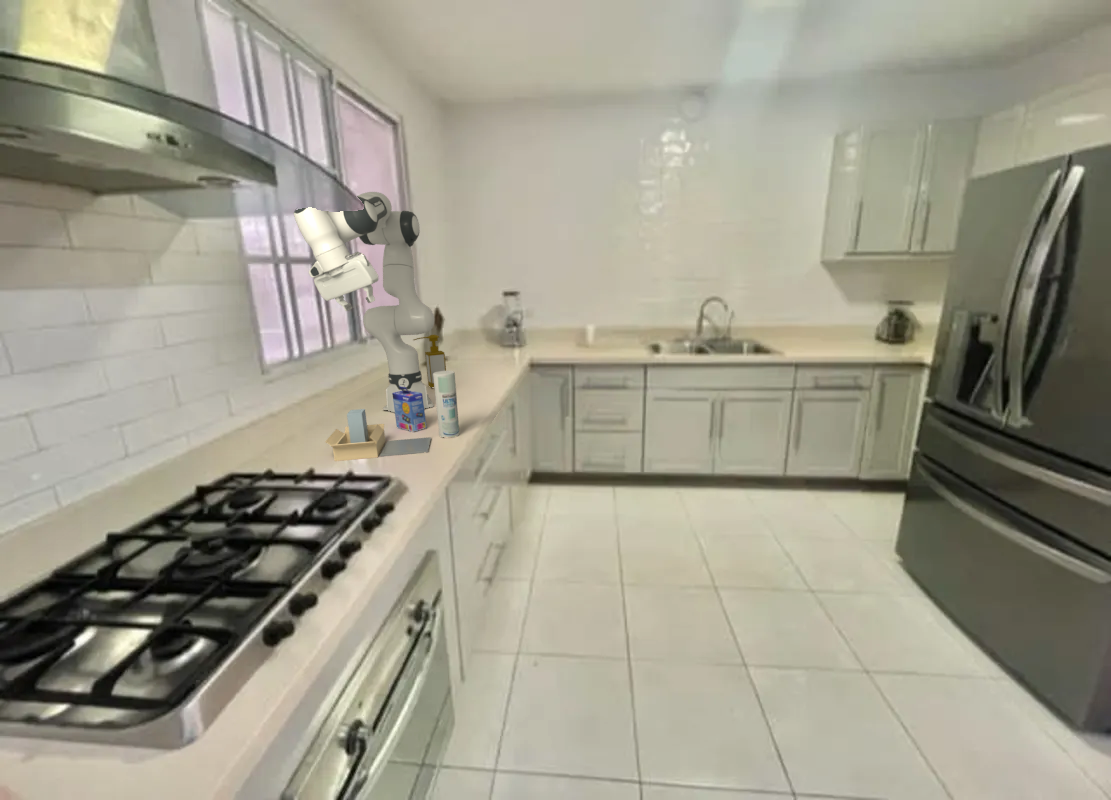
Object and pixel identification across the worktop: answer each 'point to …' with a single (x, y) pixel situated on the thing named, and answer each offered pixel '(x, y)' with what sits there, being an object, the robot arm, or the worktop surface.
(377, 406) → the worktop surface
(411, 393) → the ink cartridge box
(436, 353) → the soap bottle
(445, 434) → the spray can
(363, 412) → the blue-grey rectangular block
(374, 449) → the carton
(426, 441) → the plate
